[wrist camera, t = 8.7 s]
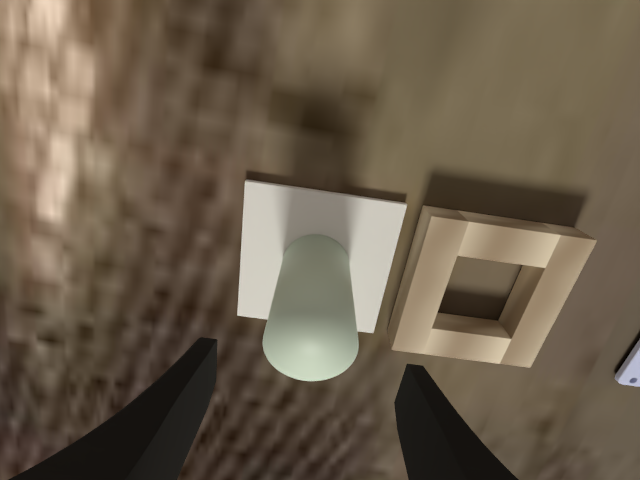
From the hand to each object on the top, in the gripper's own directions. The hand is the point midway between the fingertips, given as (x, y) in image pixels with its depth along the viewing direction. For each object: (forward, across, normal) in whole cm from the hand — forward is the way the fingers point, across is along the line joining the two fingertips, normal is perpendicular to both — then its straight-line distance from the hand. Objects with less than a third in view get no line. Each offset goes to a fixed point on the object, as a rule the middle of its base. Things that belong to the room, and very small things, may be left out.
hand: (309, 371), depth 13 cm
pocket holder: (+9, -10, 0) cm, 13 cm away
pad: (+9, 0, 0) cm, 9 cm away
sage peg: (+8, 0, 0) cm, 8 cm away
